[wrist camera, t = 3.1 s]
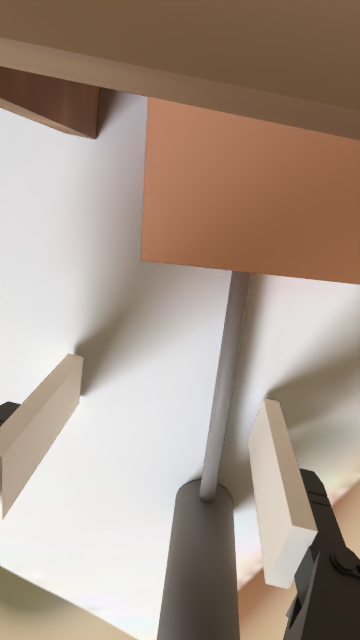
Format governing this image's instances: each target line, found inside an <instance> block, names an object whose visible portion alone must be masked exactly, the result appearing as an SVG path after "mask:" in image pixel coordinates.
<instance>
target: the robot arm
mask: <svg viewBox="0 0 360 640" xmlns="http://www.w3.org/2000/svg"><path fill="white" fill-rule="evenodd" d="M83 359H84V357H81V356H77V355H72V354H68V355H67V356H66V357H65V358H64V359H63V360H62V361H61V362H60V363H59V364H58V365H57V367H56V368H55V369H54V370H53V371H52V372H51V373H50V374H49V375H48V376H47V377H46V378H45V379H44V381H43V382H42V383H41V384H40V385H39V386H38V387H37V388H36V389H35V390H34V391H33V392H32V393H31V395H30V396H29V397H28V398H27V399H26V400H25V401H24V402H23V403H22V404H17V403H13V402H6V403H4V404H2V405H0V520H3V518H4V517H5V515H6V514H7V512H8V511H9V509H10V508H11V506H12V505H13V503H14V501H15V500H16V498H17V497H18V495H19V494H20V492H21V491H22V489H23V488H24V486H25V485H26V483H27V482H28V480H29V479H30V477H31V476H32V474H33V473H34V471H35V470H36V468H37V466H38V465H39V463H40V462H41V460H42V459H43V457H44V456H45V454H46V453H47V451H48V450H49V448H50V447H51V445H52V444H53V442H54V441H55V439H56V438H57V436H58V435H59V433H60V432H61V430H62V428H63V427H64V425H65V424H66V422H67V421H68V419H69V418H70V416H71V415H72V413H73V412H74V410H75V409H76V407H77V406H78V404H79V398H80V389H81V379H82V369H83ZM248 447H249V455H250V463H251V471H252V479H253V487H254V495H255V503H256V511H257V519H258V527H259V535H260V543H261V551H262V559H263V567H264V575H265V583H266V584H269V585H274V586H278V587H282V588H286V589H289V587H290V586H291V584H292V581H293V580H294V578H295V583H296V588H297V595H296V597H295V599H294V600H293V603H292V604H291V606H290V608H289V610H288V612H287V614H286V616H287V617H288V618H289V619H288V623H287V627H286V631H285V634H284V638H283V640H360V559H359V558H358V557H357V556H356V555H355V553H354V552H352V551H351V550H350V549H349V548H347V547H346V545H345V542H344V540H343V537H342V534H341V532H340V529H339V526H338V524H337V521H336V518H335V515H334V513H333V510H332V508H331V504H330V502H329V499H328V498H327V493H326V491H325V488H324V485H323V483H322V482H321V480H320V479H319V478H318V476H317V475H316V474H315V473H314V472H313V471H309V470H305V469H300V468H299V467H298V464H297V460H296V457H295V454H294V450H293V447H292V444H291V440H290V437H289V434H288V430H287V427H286V424H285V420H284V417H283V413H282V410H281V407H280V403H279V401H275V400H270V399H266V398H263V400H262V403H261V406H260V409H259V412H258V415H257V417H256V420H255V423H254V426H253V429H252V432H251V435H250V438H249V441H248Z"/></svg>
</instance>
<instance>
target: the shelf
mask: <svg viewBox="0 0 360 640" xmlns="http://www.w3.org/2000/svg"><path fill="white" fill-rule="evenodd" d="M100 87H104V88H108V89H113V90H118V91H123V92H128V93H133V94H137V95H142V96H147V97H152V98H157V99H162V100H166V101H171V102H176V103H181V104H186V105H191V106H195V107H200V108H205V109H210V110H215V111H220V112H224V113H229V114H234V115H239V116H244V117H249V118H253V119H258V120H263V121H268V122H273V123H278V124H282V125H287V126H292V127H297V128H302V129H307V130H311V131H316V132H321V133H326V134H331V135H336V136H340V137H345V138H350V139H355V140H360V0H0V108H2V109H5V110H7V111H10V112H13V113H15V114H18V115H20V116H23V117H25V118H28V119H31V120H33V121H36V122H38V123H41V124H43V125H46V126H48V127H51V128H54V129H56V130H59V131H61V132H64V133H67V134H72V135H77V136H82V137H86V138H91V139H96V129H97V118H98V107H99V96H100Z"/></svg>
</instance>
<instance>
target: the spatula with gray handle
mask: <svg viewBox="0 0 360 640" xmlns="http://www.w3.org/2000/svg"><path fill="white" fill-rule="evenodd" d="M141 261H150V262H159V263H168V264H177V265H186V266H196V267H205V268H214V269H223V270H232V276H231V283H230V290H229V297H228V303H227V310H226V317H225V324H224V331H223V337H222V344H221V351H220V358H219V364H218V371H217V378H216V385H215V391H214V398H213V405H212V412H211V419H210V425H209V432H208V439H207V446H206V452H205V459H204V466H203V473H202V479H201V480H196V481H191V482H189V483H187V484H185V485H183V486H182V487H181V488H180V489H179V491H178V492H177V495H176V501H175V508H174V516H173V523H172V531H171V538H170V546H169V553H168V560H167V568H166V575H165V583H164V590H163V598H162V605H161V613H160V620H159V627H158V635H157V640H240V633H239V613H238V594H237V574H236V555H235V536H234V516H233V500H232V497H231V495H230V493H229V492H228V491H227V489H225V488H224V487H223V486H221V485H220V484H218V483H217V481H218V475H219V469H220V463H221V457H222V452H223V446H224V440H225V434H226V428H227V422H228V417H229V411H230V405H231V399H232V393H233V387H234V382H235V376H236V370H237V364H238V358H239V352H240V347H241V341H242V335H243V329H244V323H245V317H246V312H247V306H248V300H249V294H250V288H251V282H252V276H253V273H260V274H269V275H278V276H287V277H296V278H305V279H314V280H324V281H333V282H342V283H351V284H360V140H355V139H350V138H345V137H340V136H336V135H331V134H326V133H321V132H316V131H311V130H307V129H302V128H297V127H292V126H287V125H282V124H278V123H273V122H268V121H263V120H258V119H253V118H249V117H244V116H239V115H234V114H229V113H224V112H220V111H215V110H210V109H205V108H200V107H195V106H191V105H186V104H181V103H176V102H171V101H166V100H162V99H157V98H152V97H148V109H147V131H146V153H145V175H144V197H143V219H142V241H141Z"/></svg>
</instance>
